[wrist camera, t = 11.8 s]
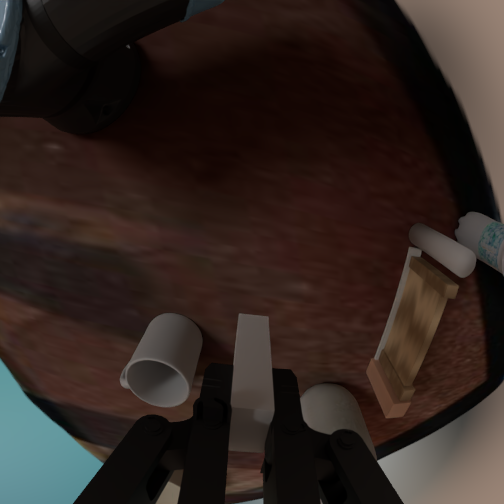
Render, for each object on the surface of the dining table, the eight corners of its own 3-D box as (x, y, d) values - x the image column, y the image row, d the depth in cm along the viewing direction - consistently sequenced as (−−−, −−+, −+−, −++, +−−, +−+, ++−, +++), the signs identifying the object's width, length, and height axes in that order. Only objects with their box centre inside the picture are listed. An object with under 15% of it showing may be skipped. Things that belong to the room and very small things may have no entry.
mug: (183, 303, 43) (164, 349, 32) (213, 348, 45) (203, 399, 35) (121, 330, 45) (93, 374, 34) (151, 370, 47) (132, 417, 37)
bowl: (189, 480, 59) (183, 512, 49) (125, 460, 57) (114, 491, 48) (203, 449, 54) (198, 488, 44) (129, 426, 52) (115, 463, 43)
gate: (411, 255, 39) (448, 285, 30) (421, 257, 39) (458, 286, 30) (378, 359, 45) (399, 401, 35) (387, 359, 45) (410, 400, 35)
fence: (411, 221, 39) (459, 248, 27) (429, 224, 39) (479, 251, 27) (365, 372, 47) (387, 423, 35) (381, 371, 47) (405, 421, 36)
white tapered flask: (362, 381, 48) (413, 521, 21) (326, 417, 50) (354, 551, 24) (316, 363, 46) (354, 525, 19) (281, 403, 49) (293, 552, 22)
